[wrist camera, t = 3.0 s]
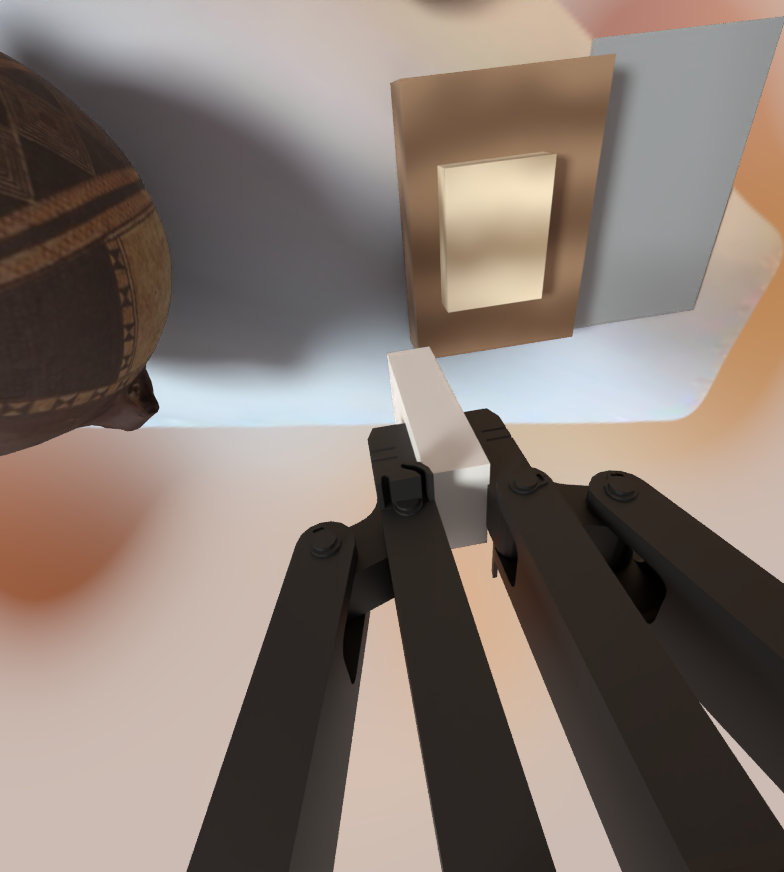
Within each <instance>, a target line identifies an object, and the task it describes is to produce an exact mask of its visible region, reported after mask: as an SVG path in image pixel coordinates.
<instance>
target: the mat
mask: <svg viewBox="0 0 784 872" xmlns="http://www.w3.org/2000/svg"><path fill="white" fill-rule="evenodd" d="M783 24H784V16H783V17H775V18H767V19H758V20H749V21H741V22H732V23H723V24H715V25H706V26H697V27H689V28H681V29H671V30H663V31H654V32H647V33H637V34H628V35H620V36H612V37H603V38H596V39H593V41H592V49H591V56H598V55H607V54H615V53H616V58H615V64H614V71H613V77H612V84H611V90H610V96H609V103H608V109H607V116H606V122H605V129H604V135H603V141H602V148H601V154H600V161H599V167H598V174H597V180H596V187H595V193H594V199H593V206H592V212H591V219H590V225H589V232H588V238H587V244H586V251H585V257H584V264H583V270H582V277H581V283H580V289H579V296H578V302H577V309H576V315H575V322H574V328H580V327H587V326H593V325H599V324H606V323H612V322H619V321H625V320H631V319H638V318H644V317H650V316H657V315H663V314H670V313H676V312H682V311H689V310H693V308H694V305H695V302H696V298H697V295H698V292H699V289H700V286H701V283H702V280H703V276H704V273H705V270H706V267H707V264H708V261H709V258H710V254H711V251H712V248H713V245H714V242H715V239H716V235H717V232H718V229H719V226H720V223H721V220H722V217H723V213H724V210H725V207H726V204H727V201H728V198H729V195H730V191H731V188H732V185H733V182H734V179H735V176H736V172H737V169H738V166H739V163H740V160H741V157H742V154H743V150H744V147H745V144H746V141H747V138H748V135H749V131H750V128H751V125H752V122H753V119H754V116H755V113H756V109H757V106H758V103H759V100H760V97H761V94H762V91H763V87H764V84H765V81H766V78H767V74H768V71H769V68H770V65H771V62H772V59H773V56H774V53H775V50H776V46H777V43H778V40H779V37H780V34H781V31H782V28H783ZM574 328H573V329H574Z"/></svg>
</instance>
